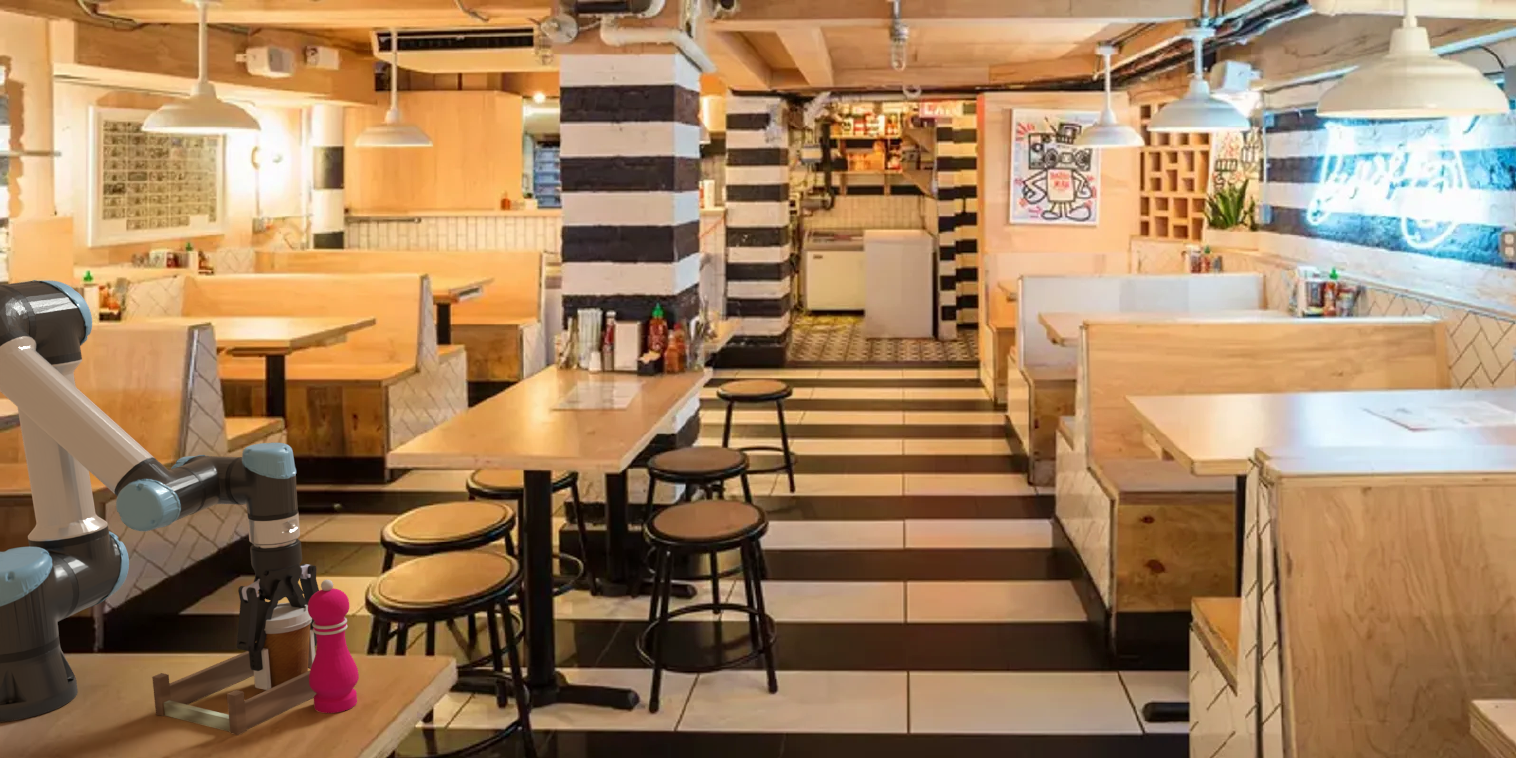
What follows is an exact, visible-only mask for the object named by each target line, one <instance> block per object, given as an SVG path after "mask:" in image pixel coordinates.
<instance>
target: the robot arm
mask: <svg viewBox="0 0 1516 758" xmlns="http://www.w3.org/2000/svg"><path fill="white" fill-rule="evenodd" d="M92 330H93V317H92V313H91V310H90V307H89V305H88V303H87V300H85V298H84V297H83V296H82V295H81V293H79V292H78V291H76V290H75V289H74V288H73V287H72V286H70V285H68V284H66V283H64V282H61V281H57V280H36V279H33V280H27V281H20V282H14V283H7V284H5V283H4V284H0V393H1V394H2V395H3V396H4V397H5V398H7V399H8V400H9V401H10V402H11V403H13V404H14V405H15V406H16V407H17V413H18V417H19V418H18V419H19V424H20V431H21V437H22V442H23V449H24V454H25V455H24V456H25V460H26V467H27V473H28V480H29V485H30V491H31V493H30V494H31V497H32V504H33V511H34V517H35V521H36V524H35V526H34V527H33V529H32V530H31V532H30V533H29V534H28V535H27V540H28V541H27V542H28V546H21V547H19V546H18V547H14V548H9V549H7V550H5V551H0V722H1V723H2V722H11V721H16V720H23V719H28V718H32V717H36V716H40V715H43V714H46V713H49V712H52V711H55V710H56V709H59V708H62V707H63V706H65V705H67V704H68V703H70V702H72V701H73V700H74V699H75V698H76V696H77V695H78V683H77V677H76V675H75V674H74V671H73V669H72V668H71V666H70V663H69V661H68V659H67V658H66V656H65V654H64V652H63V651H62V648H61V643H60V636H59V635H60V634H59V625H58V622H60V621H63V620H64V619H66V618H70V617H71V616H73V615H75V614H77V613H79V612H81V611H84V610H85V609H88V608H92V607H95V606H98V605H99V604H101V603H103V602H104V601H105V600H107V598H109V597H111V596H113V595H114V594H115V593H117V592H118V591H119V590H120V589H121V587H122V586H123V585H124V583H125V582H126V580H127V577H128V574H129V568H130V559H129V553H128V550H127V547H126V545H125V544H124V542H123V541H121V540H119V536H118V535H117V534H115V533H113V532H112V531H109V522H108V521H106V520H105V519H103V518H101V517H100V516H98V515H97V513H96V509H95V508H96V507H95V501H94V495H93V489H92V483H91V477H90V473H91V475H93V476H94V477H95V478H96V479H97V480H98V481H100V482H101V483H102V484H103V485H104V486H105V487H106V488H108V490H109V491H111V492H112V493H113V495H115V496H116V501H115V507H116V508H115V509H116V512H117V513H118V515H119V517H120V520H121V522H122V523H123V524H124V525H125V526H127V527H128V528H130V529H131V530H134V531H136V532H149V531H153V530H156V529H160V528H165V527H168V526H170V525H172V524H173V523H175V522H176V521H177V522H178V521H179V520H181V519H183V518H186V517H188V516H191V515H194V514H196V513H198V512H201V511H204V510H206V509H208V508H211V507H213V506H216V505H236V506H237V505H239V506H240V505H241V506H242V505H245V506H246V514H247V526H248V528H247V529H248V539H249V540H248V541H249V542H250V543H251V546H250V547H249V549H250V551H249V552H250V561H251V562H250V563H251V567H252V569H253V570H254V573H255V575H254V579H253V582H252V583H250V584H249V585H246V586H245V585H239V587H238V596H239V601H240V602H239V604H240V605H239V613H238V614H239V617H238V625H237V626H238V627H237V634H236V635H237V637H236V649H238V650H242V651H245V652H246V651H249V658H250V668H251V670H254V675H253V677H254V688H256V689H259V690H260V689H261V690H264V691H267V690H269V689H271V680H270V667H269V655H268V649H265V648H263V647H264V643H265V640H266V636H267V634H266V631H265V630H264V629H265V626H266V620H271V618H272V614H273V610H274V608H276V607H277V604H279V601H281V600H283V599H284V598H286V599H287V601H288V603H290V605H291V606H293V607H298V608H304V605H308V602H309V599H310V598H311V596H312V595H313V594H314V593H316V592H318V591H320V588H319V585H318V582H317V565H314V564H307V563H302V561H303V554H302V542H301V540H300V539H299V538H300V535H301V530H300V529H301V528H300V515H299V509H298V493H297V492H298V491H297V476H296V474H297V468H296V464H295V458H294V452H293V448H292V447H291V446H290V445H289V444H287V443H284V442H283V443H282V442H266V443H265V442H262V443H255V444H251V445H248V446H246V447H245V448H244V449H243V450H242V455H241V456H217V455H216V456H213V455H205V454H198V455H194V456H193V455H189V456H182V457H180V458H178V459H177V460H176V462H175V464H173V465H172V466H171V468H170V469H168V468H167V467H166V466H165V465H164V464H163V463H162V462H160V461H159V460H157V458H155V456H153V455H152V454H151V453H150V452H149V451H148V450H146V449H145V448H144V447H143V446H142V445H141V444H140V443H139V442H138V441H137V440H135V439H134V437H132V436H131V435H130V434H129V433H127V432H126V431H125V429H123V428H122V426H120V425H119V424H118V423H117V422H116V421H114V420H113V419H112V418H111V417H110V416H109V415H108V414H107V413H105V411H103V410H102V409H101V408H100V407H99V406H97V405H96V404H95V403H94V402H93V401H92V400H91V399H90V398H89V397H88V396H86V395H85V394H84V393H83V392H82V391H81V390H80V389H79V388H77V385H76V381H75V380H76V379H75V374H74V373H75V370H76V369H77V367H78V366H80V364H81V363H82V362H83V355H82V350H81V346H83V344H85V342H87V341H88V337H89V335H91V333H92ZM301 563H302V564H301ZM300 564H301V565H300ZM299 582H300V584H299ZM266 600H267V601H266ZM313 622H314V620H313V619H312V621H311V623H310V640H309V658H308V670H309V669H311V666H312V664H313V661H314V658H315V655H316V648H315V647H317V637H316V634H315V633H314V632H313V625H312V624H313ZM256 641H257V642H256Z"/></svg>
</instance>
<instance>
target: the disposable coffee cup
mask: <svg viewBox="0 0 1516 758" xmlns="http://www.w3.org/2000/svg"><path fill="white" fill-rule="evenodd" d="M311 621H312V618H311V617H310V615H309V613H308V605H304V608H298V607H293V606H291V605H290V603H289V602H280V603H279V602H278V604H277V607H276V608H274V610H273V614H272V618H271V620H266V626H265V629H264V630H265V631H266V634H267V636H266V640H265V643H264V647H263V648H265V649H268V655H269V667H270V680H271V688H273V687H275V686H277V685H280V684H282V683H284V682H286V681H288V680H291V679H293V678H295V677H297V676H299V675H301V674H304V673H306V672H308V671H309V668H308V658H309V640H310V623H311ZM256 642H257V641H256ZM256 642H255V643H256Z"/></svg>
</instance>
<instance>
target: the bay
mask: <svg viewBox="0 0 1516 758" xmlns="http://www.w3.org/2000/svg"><path fill="white" fill-rule="evenodd" d="M309 674H310V670H308V672H306V673H304V674H301V675H299V676H297V677H295V678H293V679H291V680H288V681H286V682H284V683H282V684H280V685H277V686H275V687H273V688H271V689H269V690H264V691H263V692H260V693H259V694H255V695H254V696H252V697H249V698H247V699H245V692H244V691H243V690H237V689H236V690H233V691H230V692H229V693H226V697H227V698H226V699H227V709H228V714H227V713H223V712H218V711H214V710H211V709H206V708H202V707H199V706H198V707H197V706H194V705H190V704H192V703H195V702H197V701H199V700H201V699H202V698H205V697H208V696H210V695H212V694H215V693H217V692H219V691H221V690H223V689H225V688H228V687H230V686H232V685H235V684H237V683H240V682H241V681H244V680H246V679H249V678H251V677H254V670H251V668H250V658H249V651H246V650H245V652H242V653H239V654H236V655H235V656H232V657H229V658H227V659H225V660H223V661H220V662H218V663H216V664H212V665H210V666H209V667H206V668H203V669H201V670H199V671H196V672H194V673H191V674H189V675H186V676H184V677H182V678H179V679H177V680H175V681H172V682H170V675H169V674H168V673H162V672H160V673H158V674H155V675H152V677H151V678H152V688H153V698H154V707H155V710H154V711H155V715H156V716H162V717H164V716H166V717H171V718H174V719H178V720H182V721H187V722H189V723H193V724H197V725H201V726H206V727H210V728H214V729H218V730H222V731H226V732H229V733H230V734H233V735H235V736H239V735H242V734H243V733H245V732H247V730H249V729H252V728H253V727H256V726H258V725H260V724H261V723H263V722H266V721H267V720H269V719H271V718H274V717H276V716H279V715H280V714H283V713H284V712H287V711H288V710H291V709H293V708H295V707H297V706H298V705H300V704H302V703H305V702H307V701H309V700H312V699H314V696H315V695H316V694H317V693H315V692H314V691H313V690H312V689H311V687H310V685H309ZM257 724H258V725H257ZM255 725H256V726H255Z"/></svg>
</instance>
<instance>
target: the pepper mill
mask: <svg viewBox="0 0 1516 758" xmlns="http://www.w3.org/2000/svg"><path fill="white" fill-rule="evenodd" d="M320 588H321V589H319V591H318V592H316V593H314V594H313V595H312V596H311V598H310V599H309V602H308V613H309V615H310V617H311V618H312V619H313V620H314V622H313V624H312V625H313V632H314V633H315V634H316V637H317V645H316V649H315V658H314V661H313V664H312V666H311V669H310V670H309V671H310V674H309V685H310V687H311V689H312V690H313V691H314V692H315V693H317V694H316V695H315V696H314V697H313V706H314V709H315V711H317V712H319V713H321V714H337V713H341V712H345V710H346V711H348V710H351V709H352V708H354V707H355V706H356V705H357V703H358V695H357V690H356V689H355V688H354V687H356V685H357V683H358V681H359V680H360V679H359V678H360V676H359V669H358V666H357V664H356V661H355V660H354V658H353V656H352V655H351V652H350V650H349V649H348V645H347V641H346V630H347V628H349V627H348V618H347V617H346V615H348V613H349V610H350V601H349V598H348V595H347V594H346V593H345V592H344V591H343V590H340V589H338V588H334V582H333V581H332V580H331V579H324V580H323V581H322V582H321V583H320ZM353 706H354V707H353Z"/></svg>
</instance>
